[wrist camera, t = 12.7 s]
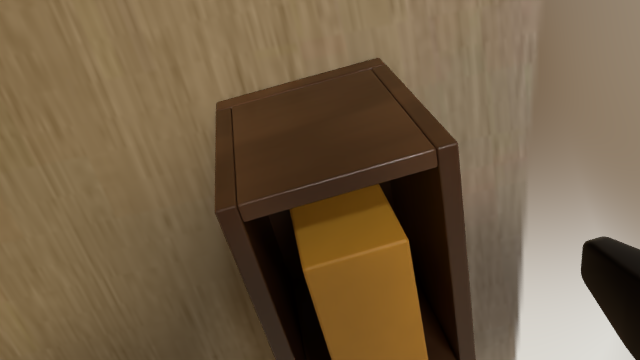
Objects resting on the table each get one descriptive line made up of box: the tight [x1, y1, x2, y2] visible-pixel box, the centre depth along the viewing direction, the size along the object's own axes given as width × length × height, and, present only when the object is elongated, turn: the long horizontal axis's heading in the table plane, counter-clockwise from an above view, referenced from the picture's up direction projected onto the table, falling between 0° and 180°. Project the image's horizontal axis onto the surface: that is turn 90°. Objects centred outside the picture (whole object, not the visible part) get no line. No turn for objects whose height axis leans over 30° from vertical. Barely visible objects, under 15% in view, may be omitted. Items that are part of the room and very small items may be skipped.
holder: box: [215, 58, 476, 360], centre depth 13 cm, size 4×6×5 cm
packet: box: [289, 184, 428, 360], centre depth 12 cm, size 2×4×5 cm, turn 13°
